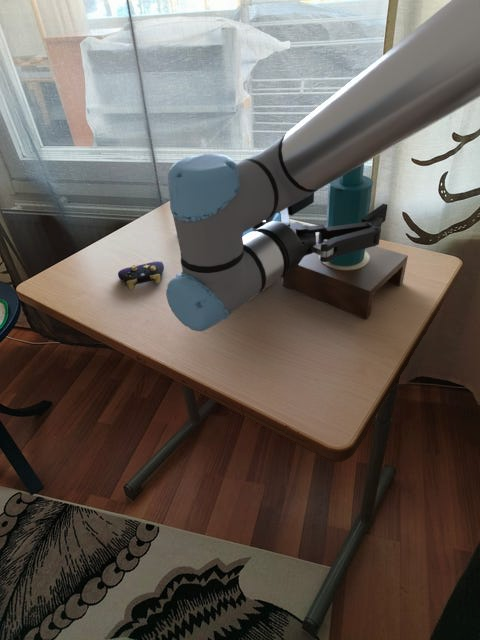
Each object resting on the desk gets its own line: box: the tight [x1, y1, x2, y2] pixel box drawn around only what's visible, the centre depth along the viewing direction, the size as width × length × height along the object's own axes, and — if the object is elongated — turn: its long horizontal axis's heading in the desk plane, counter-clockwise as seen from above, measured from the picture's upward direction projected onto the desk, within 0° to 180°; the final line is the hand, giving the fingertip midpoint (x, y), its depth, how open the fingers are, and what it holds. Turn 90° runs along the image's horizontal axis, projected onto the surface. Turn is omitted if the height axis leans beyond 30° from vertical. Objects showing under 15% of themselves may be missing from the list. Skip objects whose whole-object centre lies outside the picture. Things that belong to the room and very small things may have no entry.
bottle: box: [325, 163, 374, 266], centre depth 72 cm, size 7×7×18 cm
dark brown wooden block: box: [282, 233, 409, 320], centre depth 80 cm, size 18×14×6 cm
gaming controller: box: [117, 260, 165, 290], centre depth 88 cm, size 10×5×6 cm
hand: (346, 202), depth 70 cm, fingers open, 13 cm apart
